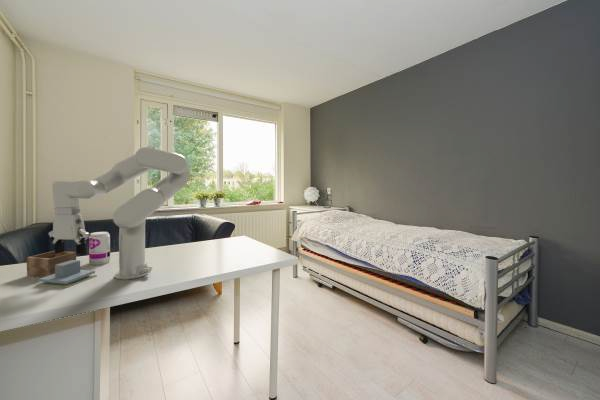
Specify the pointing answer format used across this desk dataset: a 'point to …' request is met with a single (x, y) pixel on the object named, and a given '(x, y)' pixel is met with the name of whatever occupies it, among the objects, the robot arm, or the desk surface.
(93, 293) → the desk surface
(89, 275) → the felt mat
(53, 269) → the walnut box
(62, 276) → the lid
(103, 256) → the supplement can
